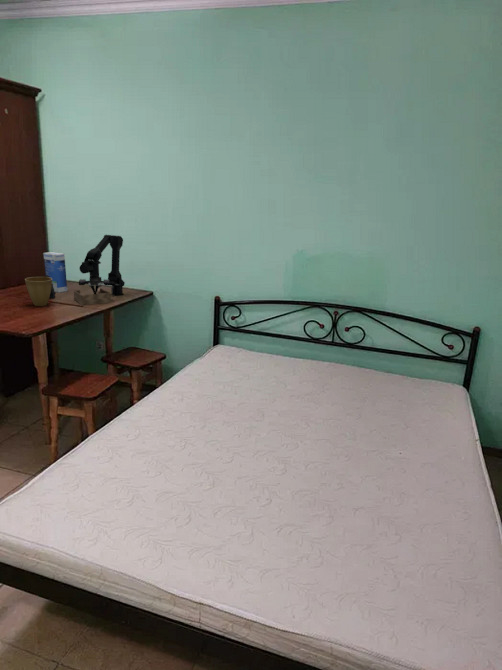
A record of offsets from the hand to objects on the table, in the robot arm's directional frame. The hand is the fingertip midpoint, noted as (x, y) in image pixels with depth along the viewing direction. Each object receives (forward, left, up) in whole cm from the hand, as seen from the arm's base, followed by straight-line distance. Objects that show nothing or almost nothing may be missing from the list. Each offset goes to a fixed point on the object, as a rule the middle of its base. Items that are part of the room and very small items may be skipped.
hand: (95, 295), depth 298 cm
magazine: (+26, -23, -4) cm, 34 cm away
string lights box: (+13, -42, -4) cm, 44 cm away
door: (-4, -4, -3) cm, 6 cm away
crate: (+2, -2, -4) cm, 4 cm away
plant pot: (+32, -6, -4) cm, 32 cm away
